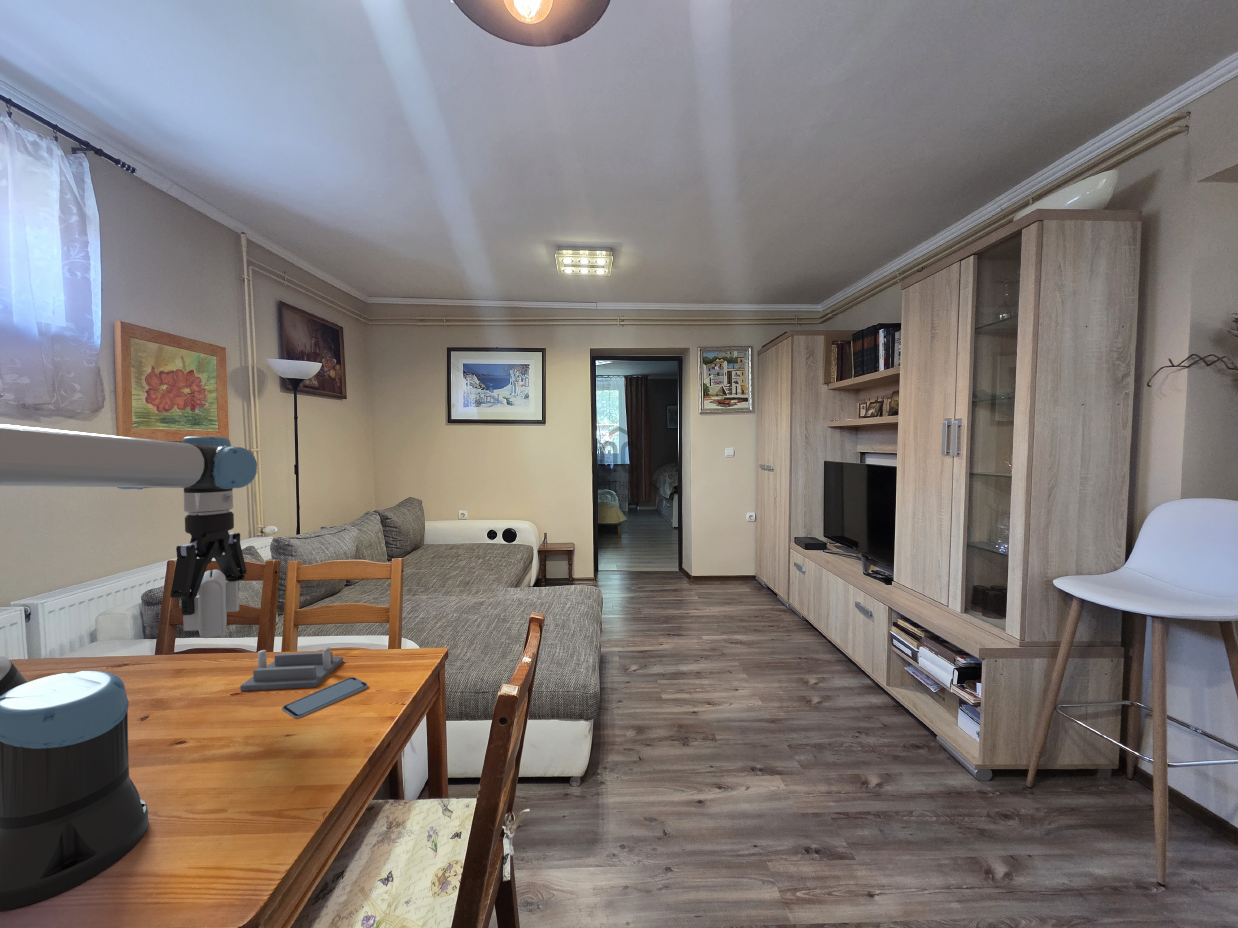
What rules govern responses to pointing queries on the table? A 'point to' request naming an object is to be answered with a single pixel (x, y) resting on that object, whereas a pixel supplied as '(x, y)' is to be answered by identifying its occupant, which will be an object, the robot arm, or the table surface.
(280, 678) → the cradle
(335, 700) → the smartphone
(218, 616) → the photo printer
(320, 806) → the table surface
